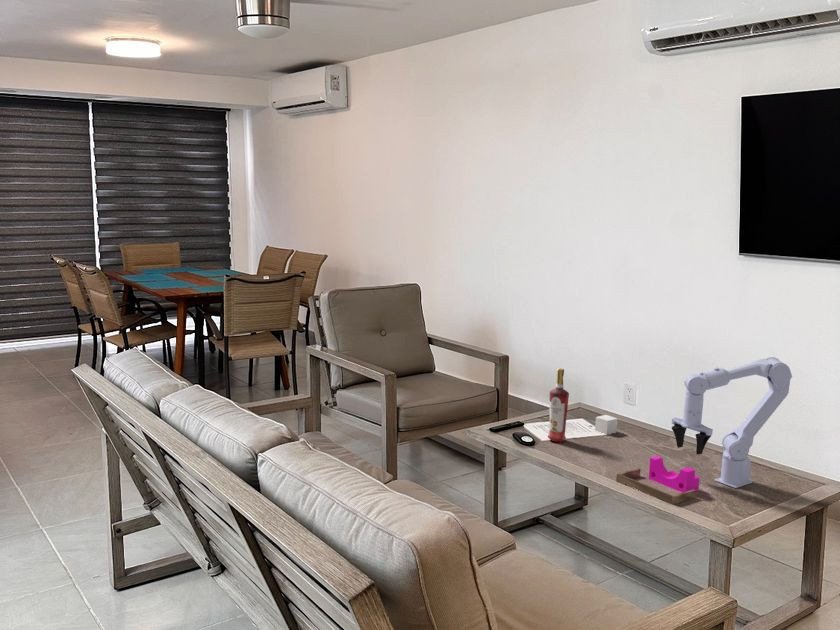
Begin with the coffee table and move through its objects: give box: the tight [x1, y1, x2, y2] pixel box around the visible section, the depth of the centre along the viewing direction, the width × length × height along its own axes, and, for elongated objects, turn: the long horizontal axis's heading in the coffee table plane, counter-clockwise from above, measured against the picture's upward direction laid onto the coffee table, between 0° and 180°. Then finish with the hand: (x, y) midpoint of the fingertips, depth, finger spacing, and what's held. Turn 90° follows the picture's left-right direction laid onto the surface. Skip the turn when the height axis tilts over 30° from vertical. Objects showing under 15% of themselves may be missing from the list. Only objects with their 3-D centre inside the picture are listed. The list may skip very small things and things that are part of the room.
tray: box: [615, 467, 697, 505], centre depth 247 cm, size 11×23×2 cm, turn 34°
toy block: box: [648, 455, 700, 493], centre depth 251 cm, size 15×6×8 cm, turn 33°
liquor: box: [547, 368, 570, 443], centre depth 292 cm, size 7×7×28 cm
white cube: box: [594, 414, 618, 436], centre depth 306 cm, size 6×6×6 cm
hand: (689, 450), depth 255 cm, fingers open, 7 cm apart
